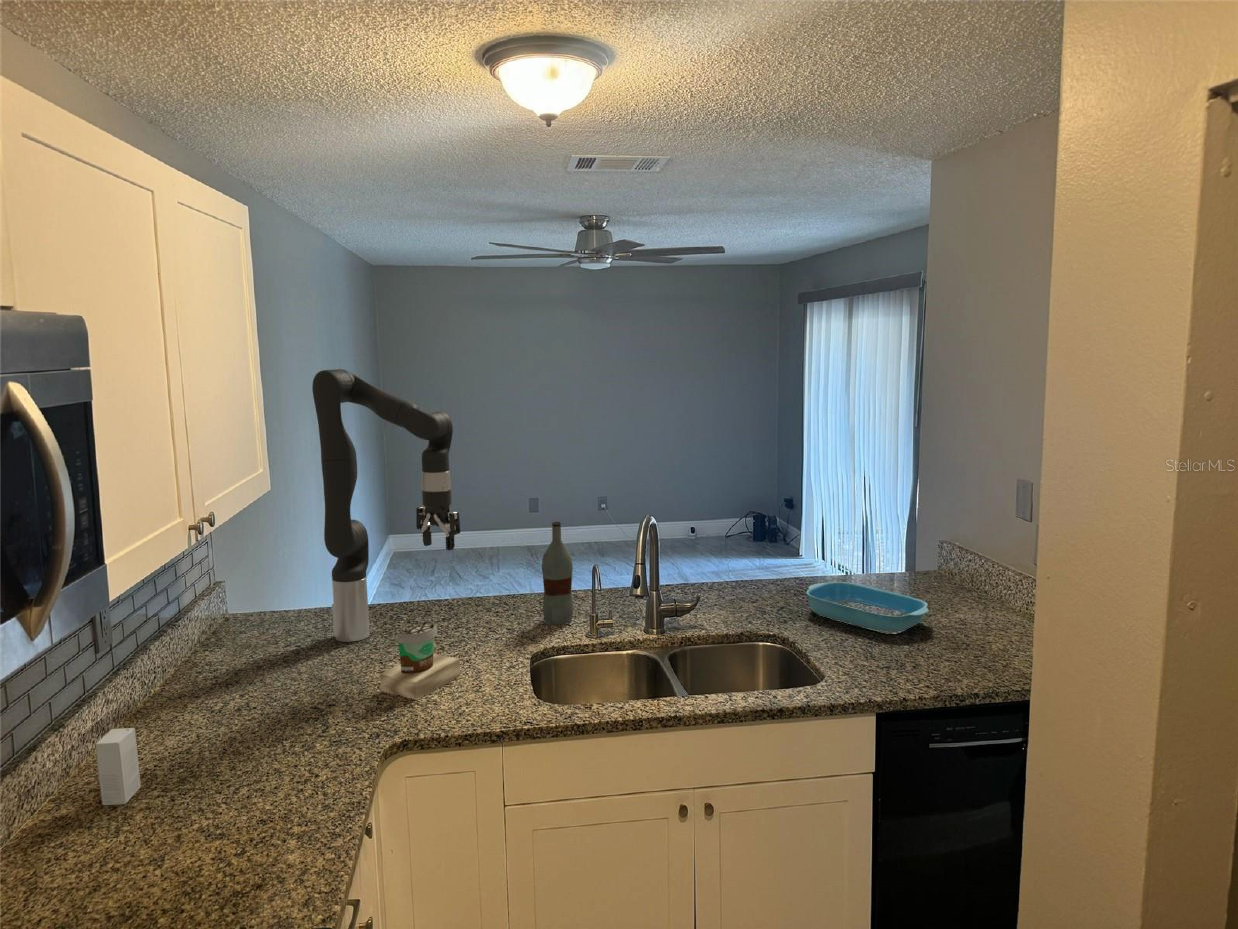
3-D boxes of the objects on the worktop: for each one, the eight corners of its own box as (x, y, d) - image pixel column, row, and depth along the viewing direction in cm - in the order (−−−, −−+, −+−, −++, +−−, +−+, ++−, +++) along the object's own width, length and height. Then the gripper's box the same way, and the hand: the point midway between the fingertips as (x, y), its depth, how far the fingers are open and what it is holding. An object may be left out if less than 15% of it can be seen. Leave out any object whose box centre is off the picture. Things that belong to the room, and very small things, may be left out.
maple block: (381, 693, 199) (380, 673, 199) (426, 670, 213) (425, 651, 213) (416, 702, 194) (415, 682, 194) (460, 678, 208) (459, 659, 208)
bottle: (556, 614, 255) (554, 518, 251) (580, 619, 250) (578, 521, 246) (536, 622, 248) (534, 523, 243) (560, 628, 242) (558, 527, 238)
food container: (420, 679, 196) (419, 638, 194) (397, 675, 198) (396, 634, 196) (447, 660, 207) (446, 621, 206) (426, 656, 209) (425, 618, 208)
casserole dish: (941, 625, 244) (942, 601, 243) (904, 644, 228) (905, 619, 227) (831, 598, 270) (831, 577, 269) (791, 614, 254) (791, 591, 253)
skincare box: (117, 788, 156) (111, 728, 155) (141, 787, 157) (135, 727, 155) (100, 806, 150) (94, 743, 149) (125, 805, 151) (119, 742, 149)
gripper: (407, 487, 222) (409, 547, 224) (444, 492, 214) (447, 554, 216) (428, 483, 228) (430, 541, 230) (466, 488, 220) (468, 548, 222)
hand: (438, 547), depth 223 cm, fingers open, 8 cm apart
